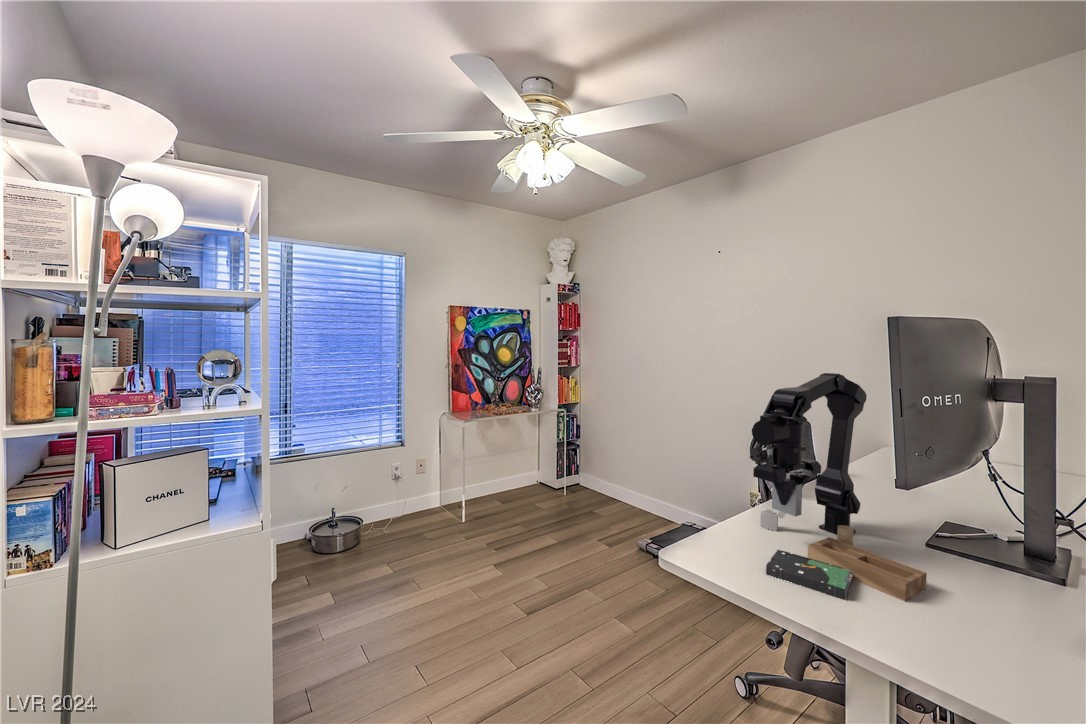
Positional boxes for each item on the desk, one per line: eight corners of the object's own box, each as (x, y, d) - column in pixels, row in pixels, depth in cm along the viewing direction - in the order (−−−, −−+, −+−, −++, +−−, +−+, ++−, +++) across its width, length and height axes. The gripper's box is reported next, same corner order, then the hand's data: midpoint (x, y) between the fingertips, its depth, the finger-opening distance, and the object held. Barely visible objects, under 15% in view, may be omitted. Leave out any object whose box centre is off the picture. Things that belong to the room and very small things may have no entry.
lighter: (760, 528, 121) (760, 499, 120) (760, 525, 122) (761, 497, 122) (789, 534, 117) (790, 504, 117) (790, 531, 118) (791, 502, 118)
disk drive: (765, 577, 96) (847, 603, 86) (765, 565, 96) (847, 589, 86) (776, 560, 104) (853, 581, 94) (777, 548, 104) (853, 569, 94)
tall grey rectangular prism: (777, 506, 111) (778, 477, 111) (801, 514, 106) (802, 484, 106) (771, 508, 110) (772, 478, 110) (795, 516, 105) (796, 485, 105)
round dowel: (841, 548, 109) (842, 524, 109) (855, 553, 106) (856, 529, 106) (834, 550, 108) (834, 526, 107) (848, 556, 105) (849, 531, 105)
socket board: (829, 551, 107) (829, 537, 107) (925, 589, 91) (926, 572, 91) (807, 559, 103) (808, 544, 103) (905, 601, 86) (905, 583, 86)
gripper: (780, 432, 119) (778, 488, 120) (734, 438, 110) (733, 499, 111) (823, 439, 109) (821, 501, 110) (776, 447, 100) (774, 514, 101)
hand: (786, 503), depth 108 cm, fingers closed on tall grey rectangular prism, 2 cm apart
